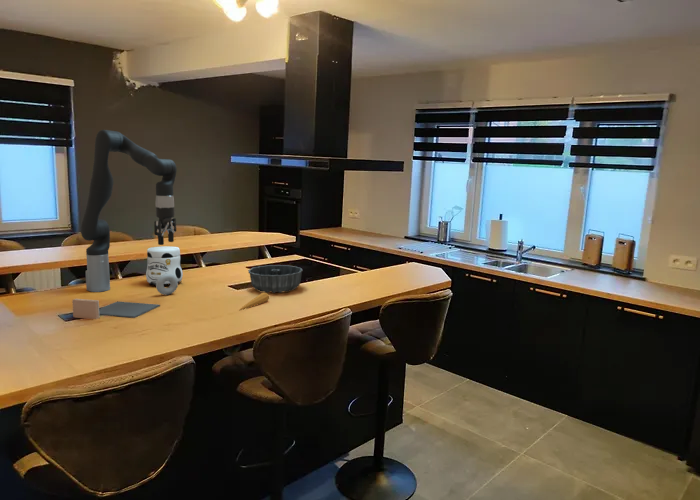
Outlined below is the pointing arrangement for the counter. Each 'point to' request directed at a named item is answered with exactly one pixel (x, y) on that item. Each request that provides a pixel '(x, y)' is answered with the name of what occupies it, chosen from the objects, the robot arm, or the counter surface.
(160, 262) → the milk container
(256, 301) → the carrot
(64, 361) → the counter surface
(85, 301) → the tile
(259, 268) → the bundt pan
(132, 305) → the mat
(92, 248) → the robot arm
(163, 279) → the donut
